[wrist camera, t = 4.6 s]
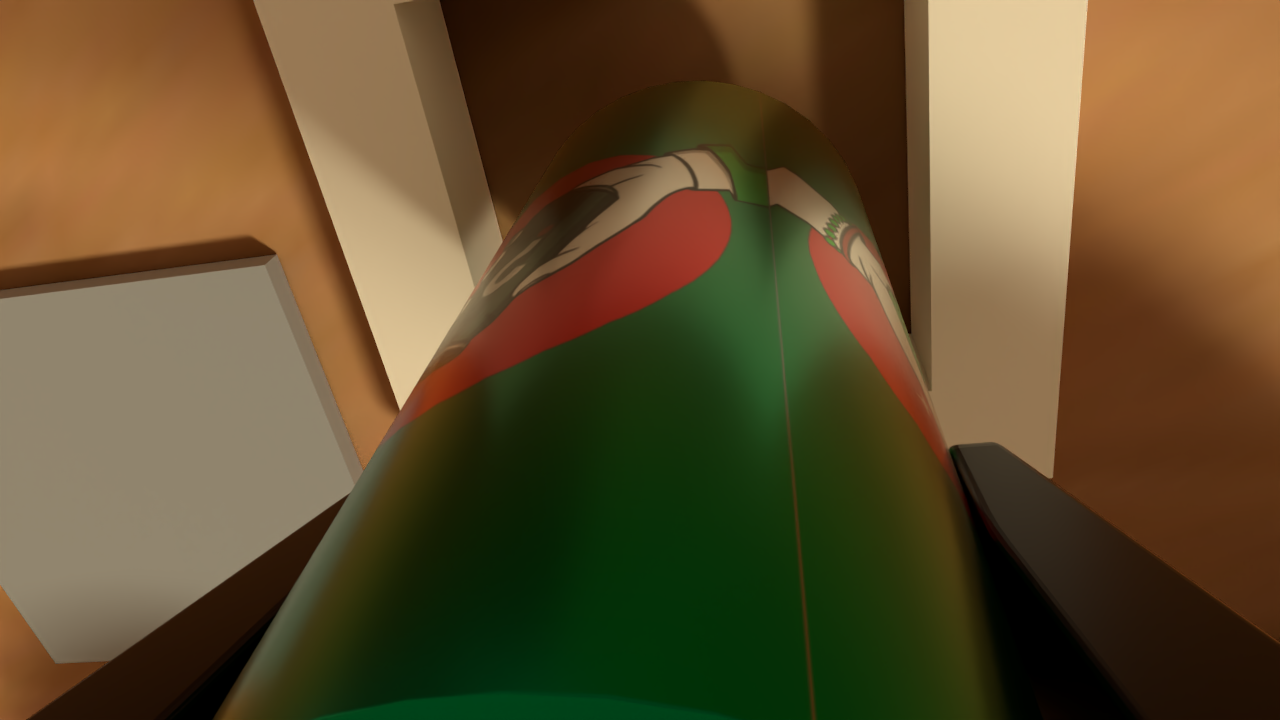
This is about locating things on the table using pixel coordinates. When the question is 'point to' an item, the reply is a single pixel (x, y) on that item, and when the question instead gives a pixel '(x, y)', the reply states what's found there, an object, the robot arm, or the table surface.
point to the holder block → (937, 189)
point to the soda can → (660, 466)
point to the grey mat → (155, 444)
